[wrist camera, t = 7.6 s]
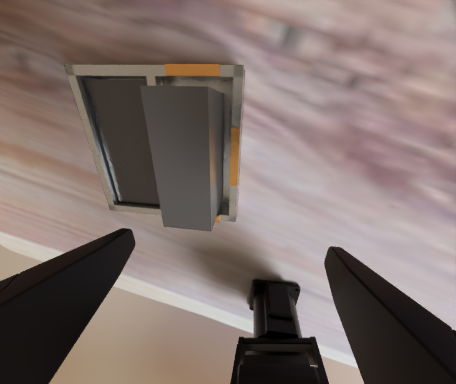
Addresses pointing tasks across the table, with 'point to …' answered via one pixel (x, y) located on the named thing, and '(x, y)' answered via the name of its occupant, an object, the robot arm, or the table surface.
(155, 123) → the grey block
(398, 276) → the table surface
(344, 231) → the table surface
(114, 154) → the grey square tray
